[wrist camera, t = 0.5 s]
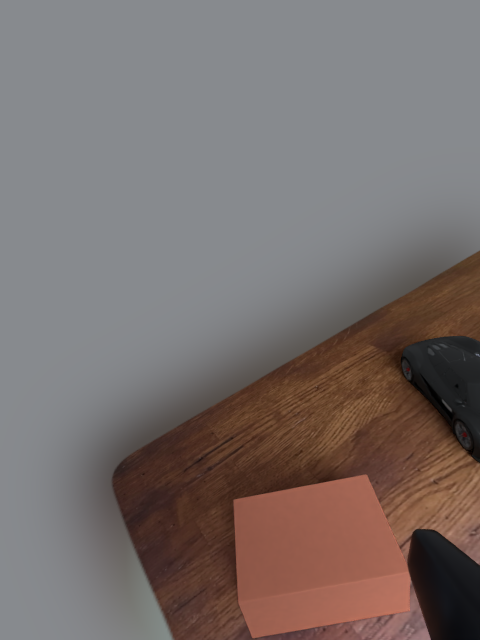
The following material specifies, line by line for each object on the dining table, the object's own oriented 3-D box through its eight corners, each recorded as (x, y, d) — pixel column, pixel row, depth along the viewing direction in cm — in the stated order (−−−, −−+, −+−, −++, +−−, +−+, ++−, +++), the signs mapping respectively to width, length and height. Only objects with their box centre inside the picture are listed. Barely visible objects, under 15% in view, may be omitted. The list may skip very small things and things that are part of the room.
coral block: (369, 511, 25) (366, 473, 23) (409, 611, 20) (410, 572, 18) (245, 534, 26) (233, 499, 24) (252, 639, 20) (237, 602, 18)
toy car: (491, 482, 25) (499, 438, 23) (394, 364, 39) (393, 330, 37) (596, 461, 25) (613, 415, 23) (461, 350, 38) (465, 315, 36)
